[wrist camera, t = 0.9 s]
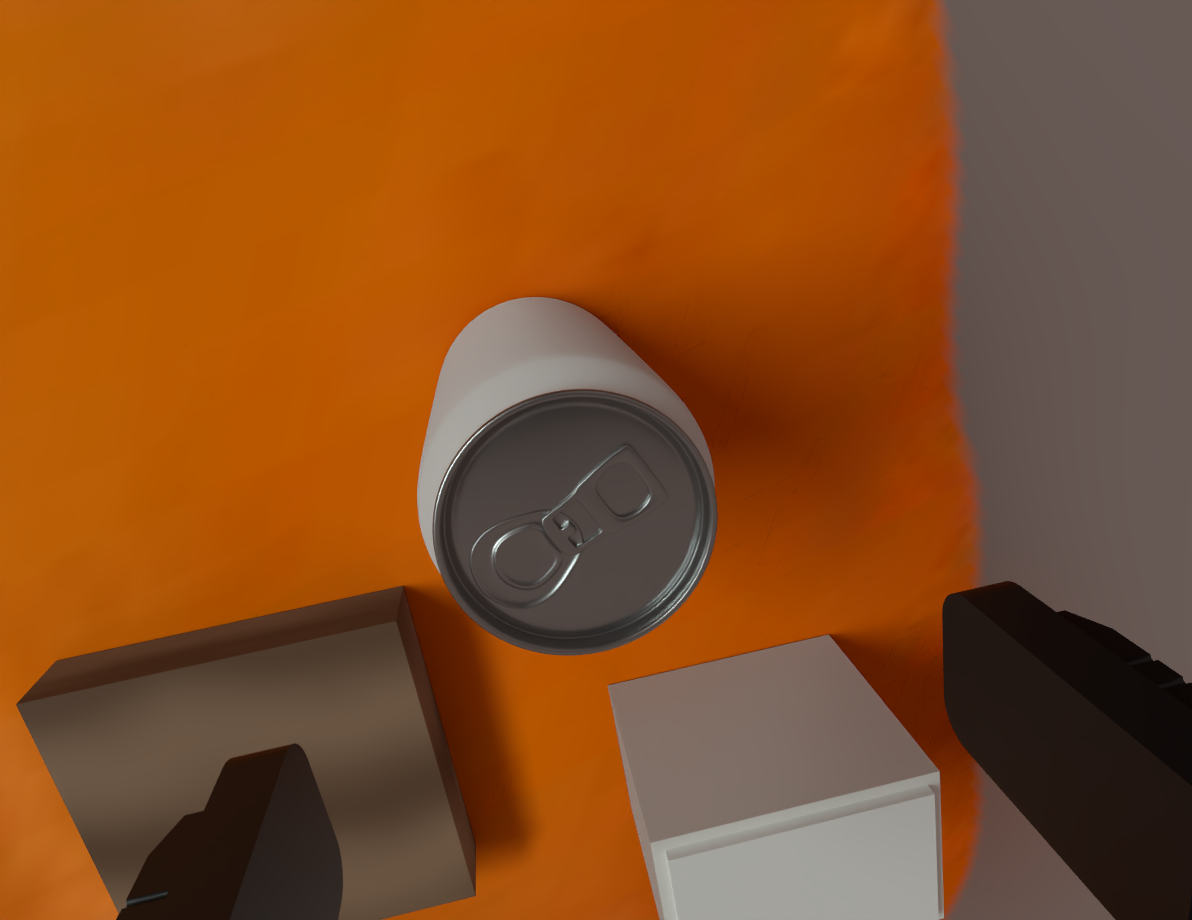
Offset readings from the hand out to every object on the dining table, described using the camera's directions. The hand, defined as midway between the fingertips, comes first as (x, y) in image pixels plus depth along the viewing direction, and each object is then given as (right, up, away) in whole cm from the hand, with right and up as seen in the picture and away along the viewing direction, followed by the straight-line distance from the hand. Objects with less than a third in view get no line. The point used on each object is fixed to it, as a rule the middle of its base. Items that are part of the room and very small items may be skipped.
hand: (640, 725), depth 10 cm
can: (-3, +6, +17) cm, 18 cm away
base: (-12, -8, +20) cm, 25 cm away
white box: (+5, -7, +22) cm, 24 cm away
